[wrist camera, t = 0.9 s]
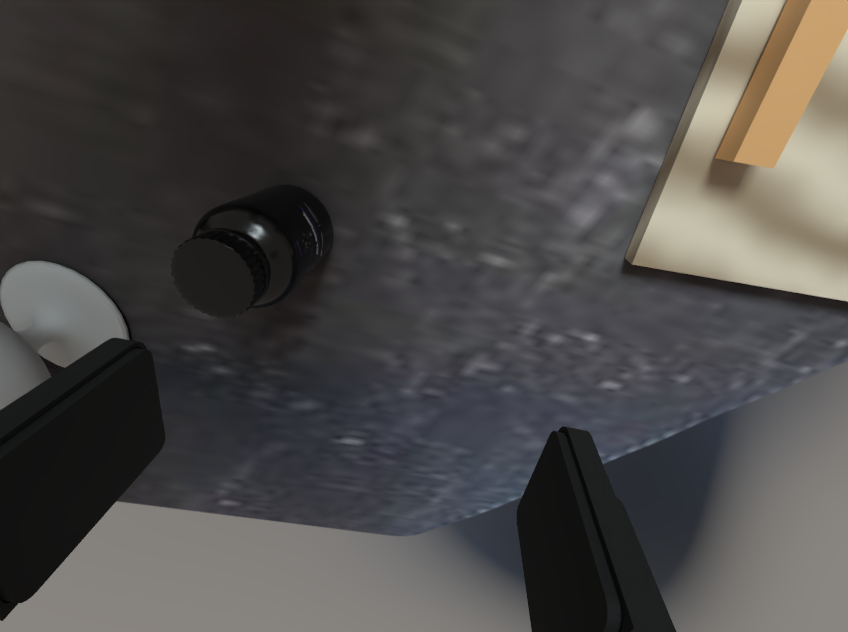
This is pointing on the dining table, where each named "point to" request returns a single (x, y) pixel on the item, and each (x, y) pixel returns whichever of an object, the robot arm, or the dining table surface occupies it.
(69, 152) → the dining table surface
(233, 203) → the supplement bottle
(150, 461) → the robot arm
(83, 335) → the chalice
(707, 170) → the pivot board
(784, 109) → the link
